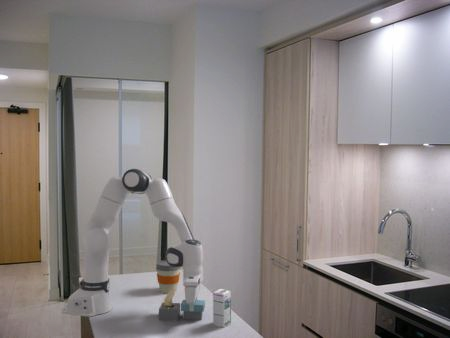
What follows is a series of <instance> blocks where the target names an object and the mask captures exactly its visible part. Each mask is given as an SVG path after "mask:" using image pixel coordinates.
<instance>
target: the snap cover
mask: <svg viewBox="0 0 450 338" xmlns="http://www.w3.org/2000/svg"><path fill="white" fill-rule="evenodd" d="M205 308H206V300H205V299H204V300H202V299H201V300H200V299H199V300H198V299H197V300H195V303H194V312H202V313H204V310H205ZM183 311H190V307H189V304H186V300H185V299H182V301H181V302H180V312H183Z"/></svg>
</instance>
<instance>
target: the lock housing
mask: <svg viewBox="0 0 450 338" xmlns="http://www.w3.org/2000/svg"><path fill="white" fill-rule="evenodd" d="M182 312H183V313H182V315H183V318H182V319H183V320H193V321H194V320H195V321H196V320H197V321H202V319H203V312H194V311H182ZM180 315H181V302H172V308H171V307H167V305H165V303H164V302H162V303H161V305H160V307H159V308H158V317H159V318H158V320H159V321H170V322H171V321H174V322H175V321H176V322H177V321H178V319H179V317H180Z"/></svg>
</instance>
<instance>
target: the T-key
mask: <svg viewBox="0 0 450 338" xmlns="http://www.w3.org/2000/svg"><path fill="white" fill-rule="evenodd" d="M175 293H176V292H175V289H170V291H169V293H166V296H165V298H164V302H163V303H165V305H167V307H171V308H172V303H173V298H174V296H175Z"/></svg>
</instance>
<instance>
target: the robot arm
mask: <svg viewBox="0 0 450 338" xmlns="http://www.w3.org/2000/svg"><path fill="white" fill-rule="evenodd" d="M129 194H137V195H143V194H145V195H146V196H147V199H148V202H149V204H150V209H151V211H152V214H153V215H154V217H155V219H157V220H159V221H161V222H164V223H165V222H166V223H168V224H170V225H172V226H173V227H174V228H175V230H176V231H177V232H176V233H177V235H178V237H179V239H180V241H181V243H179V244H176V245H173V246H170V247H168V248H167V250H165V251H166V252H165V260H166V261H167V263H168V264H169V265H170V266H171V267H180V268H182V271H183V276H182V279H183V281H182V284H183V286H184V296H185V297H184V298H185V299H184V300H186V304H189V307H190V311H194V303H195V300H198V296H199V293H200V290H201V283H202V282H203V281H204V267H203V262H204V251H203V250H204V249H203V245H202V242H200V241H199V240H197V239H195V237H194V235H193V233H192V231H191V228H190V226H189V224H188V222H187V220H186V217H185V215H184V213H183V212H182V211H181V210H180V209H179V207H178V206H177V204H176V202H175V199H174V196H173V193H172V190H171V188H170V186H169V184H168V182H167V181H166V180H165V179H163V178H161V177H157V178H154V179H153V178H152V177H151V175H150V174H149V173H147V172H146V171H144V170H142V169H138V168H131V169H128V170H126V171H125V172H124V173H123V175H122V177H120V176H112V177H111V178H109V180H108V181H107V182H106V185H105V186H104V187H103V190H102V191H101V193H100V196H99V198H98V201H97V204H96V205H95V208H94V211H93V212H92V214H91V216H90V217H89V219H88V221H87V223H86V225H85V227H84V229H83V232H82V235H81V239H82V242H83V244H84V254H83V255H84V256H83V278H82V279H81V280H80V281H79V282H78V287H79V288H78V289H76V290H75V291H74V292H73V293H72V294H70V296H69V297H68V299H67V301H66V304H65V305H64V306H63V307H62V309H61V314H63V315H72V316H80V317H86V318H87V317H94V316H97V315H102V314H106V313H108V312H110V311H111V310H112V309H113V306H112V302H111V296H110V287H111V285H110V278H109V257H110V244H111V243H110V241H111V239H110V238H111V237H110V236H109V233H110V231H111V230H112V227H113V226H114V224H115V222H117V220H118V218H119V215H120V212H121V210H122V208H123V205H124V203H125V200H126V198H127V196H128V195H129Z"/></svg>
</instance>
